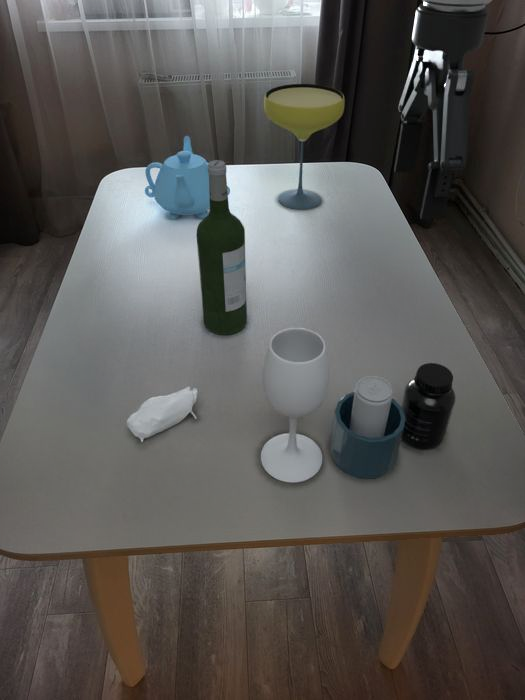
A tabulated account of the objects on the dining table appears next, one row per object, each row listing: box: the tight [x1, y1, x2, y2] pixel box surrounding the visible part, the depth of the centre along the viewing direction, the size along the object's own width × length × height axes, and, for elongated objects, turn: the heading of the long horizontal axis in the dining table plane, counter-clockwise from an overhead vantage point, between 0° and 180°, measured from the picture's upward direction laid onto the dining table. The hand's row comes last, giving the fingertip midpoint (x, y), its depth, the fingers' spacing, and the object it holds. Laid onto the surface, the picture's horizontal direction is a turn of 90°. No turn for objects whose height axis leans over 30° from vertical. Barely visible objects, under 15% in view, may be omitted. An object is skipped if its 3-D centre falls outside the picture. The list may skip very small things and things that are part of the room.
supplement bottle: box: [400, 362, 456, 450], centre depth 78 cm, size 7×7×12 cm
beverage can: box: [349, 375, 394, 438], centre depth 75 cm, size 5×5×12 cm
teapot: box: [144, 135, 231, 220], centre depth 132 cm, size 16×20×14 cm
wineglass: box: [260, 327, 330, 484], centre depth 72 cm, size 9×9×21 cm
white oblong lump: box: [126, 386, 199, 443], centre depth 82 cm, size 5×7×10 cm
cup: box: [330, 390, 406, 480], centre depth 77 cm, size 9×9×8 cm
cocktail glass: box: [263, 83, 346, 210], centre depth 132 cm, size 18×18×25 cm
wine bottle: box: [195, 159, 248, 336], centre depth 92 cm, size 8×8×30 cm
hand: (416, 193), depth 73 cm, fingers open, 13 cm apart
